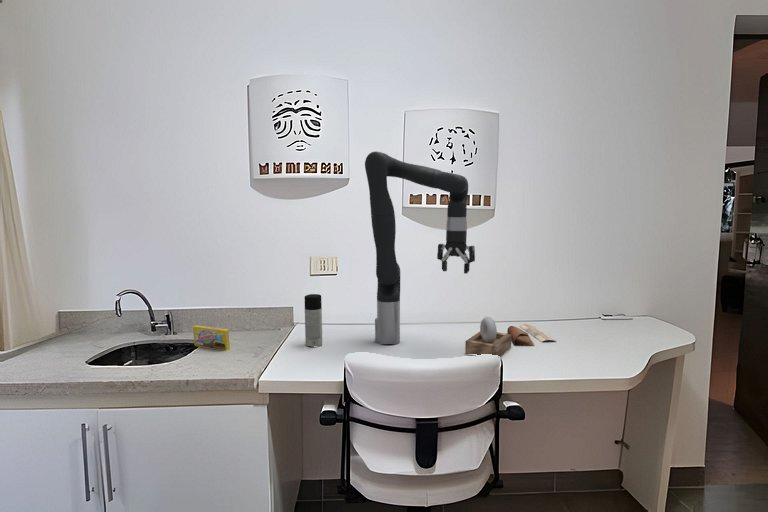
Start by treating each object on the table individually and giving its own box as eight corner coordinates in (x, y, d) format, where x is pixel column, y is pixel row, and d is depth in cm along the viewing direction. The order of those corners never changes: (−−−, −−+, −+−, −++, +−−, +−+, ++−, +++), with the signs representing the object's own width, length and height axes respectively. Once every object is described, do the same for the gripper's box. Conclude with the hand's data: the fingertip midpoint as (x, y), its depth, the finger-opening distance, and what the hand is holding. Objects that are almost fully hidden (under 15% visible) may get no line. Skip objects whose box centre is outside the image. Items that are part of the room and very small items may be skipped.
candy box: (193, 346, 177) (192, 326, 176) (197, 345, 179) (196, 324, 178) (226, 351, 171) (225, 330, 170) (230, 349, 173) (229, 328, 172)
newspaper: (556, 343, 180) (556, 339, 180) (539, 344, 180) (539, 340, 180) (531, 327, 204) (532, 323, 204) (516, 327, 203) (517, 324, 203)
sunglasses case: (536, 346, 175) (528, 331, 174) (520, 354, 176) (511, 340, 176) (527, 333, 192) (519, 319, 192) (512, 340, 194) (504, 327, 193)
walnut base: (465, 354, 166) (465, 341, 166) (481, 342, 181) (481, 329, 180) (496, 360, 160) (497, 346, 159) (511, 347, 174) (511, 334, 174)
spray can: (325, 343, 180) (324, 294, 177) (316, 348, 173) (315, 297, 171) (311, 341, 182) (310, 293, 180) (302, 346, 176) (300, 296, 174)
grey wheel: (498, 346, 166) (498, 320, 164) (489, 347, 165) (490, 320, 164) (486, 338, 175) (487, 313, 174) (478, 339, 175) (478, 314, 173)
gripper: (434, 229, 168) (433, 271, 170) (470, 230, 160) (469, 275, 162) (443, 228, 174) (442, 269, 176) (478, 229, 166) (476, 272, 168)
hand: (455, 272), depth 169 cm, fingers open, 8 cm apart
